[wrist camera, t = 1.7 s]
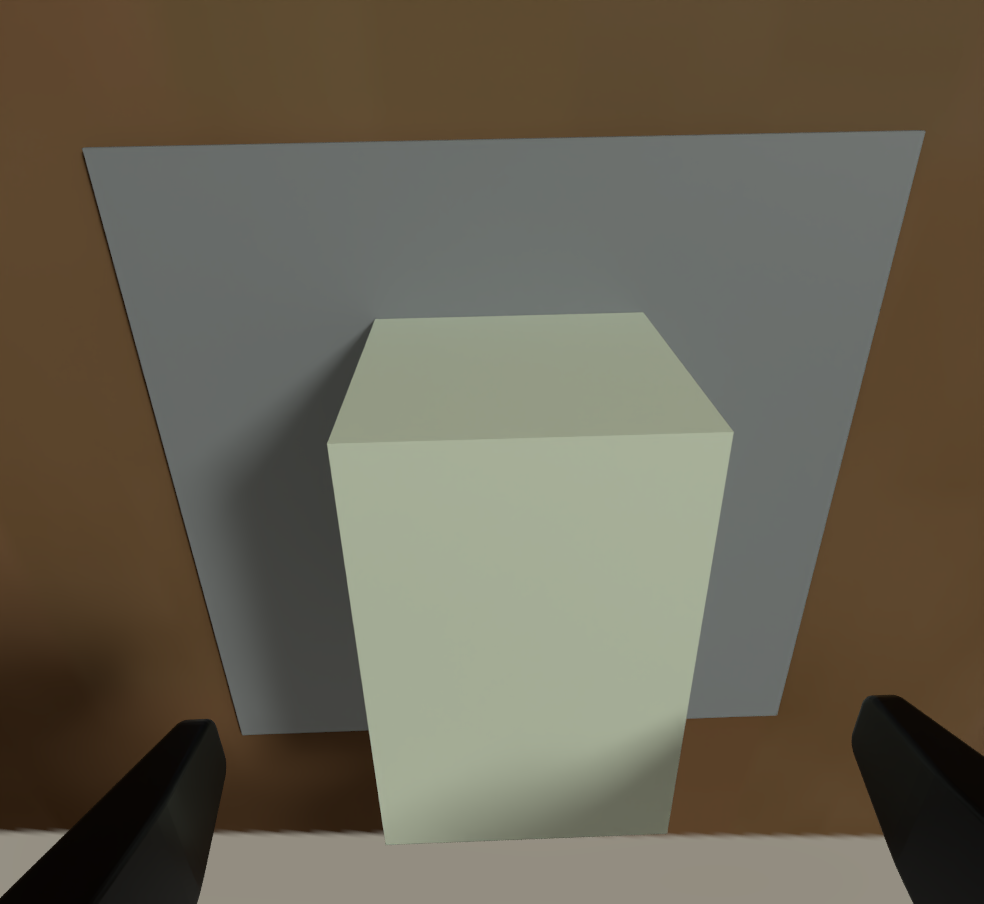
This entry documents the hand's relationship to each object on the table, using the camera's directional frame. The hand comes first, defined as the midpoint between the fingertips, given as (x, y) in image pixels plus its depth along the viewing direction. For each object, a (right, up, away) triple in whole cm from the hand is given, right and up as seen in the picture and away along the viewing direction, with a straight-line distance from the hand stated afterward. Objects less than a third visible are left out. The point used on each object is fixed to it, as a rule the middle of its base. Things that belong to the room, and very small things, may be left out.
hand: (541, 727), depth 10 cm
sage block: (0, +3, +5) cm, 6 cm away
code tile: (0, +3, +5) cm, 6 cm away
